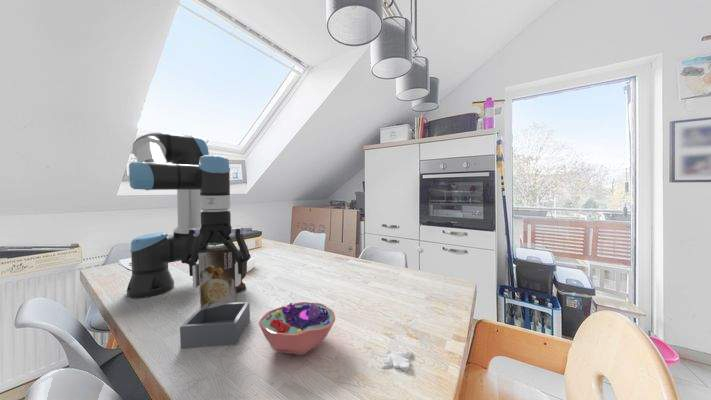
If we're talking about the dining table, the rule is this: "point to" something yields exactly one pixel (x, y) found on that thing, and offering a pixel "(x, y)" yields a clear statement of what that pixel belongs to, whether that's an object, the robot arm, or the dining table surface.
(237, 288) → the mortar and pestle
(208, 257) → the coffee box
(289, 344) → the cell model
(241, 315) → the open square bin
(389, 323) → the dining table surface
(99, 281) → the dining table surface
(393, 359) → the acanthus leaf ornament
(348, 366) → the dining table surface
